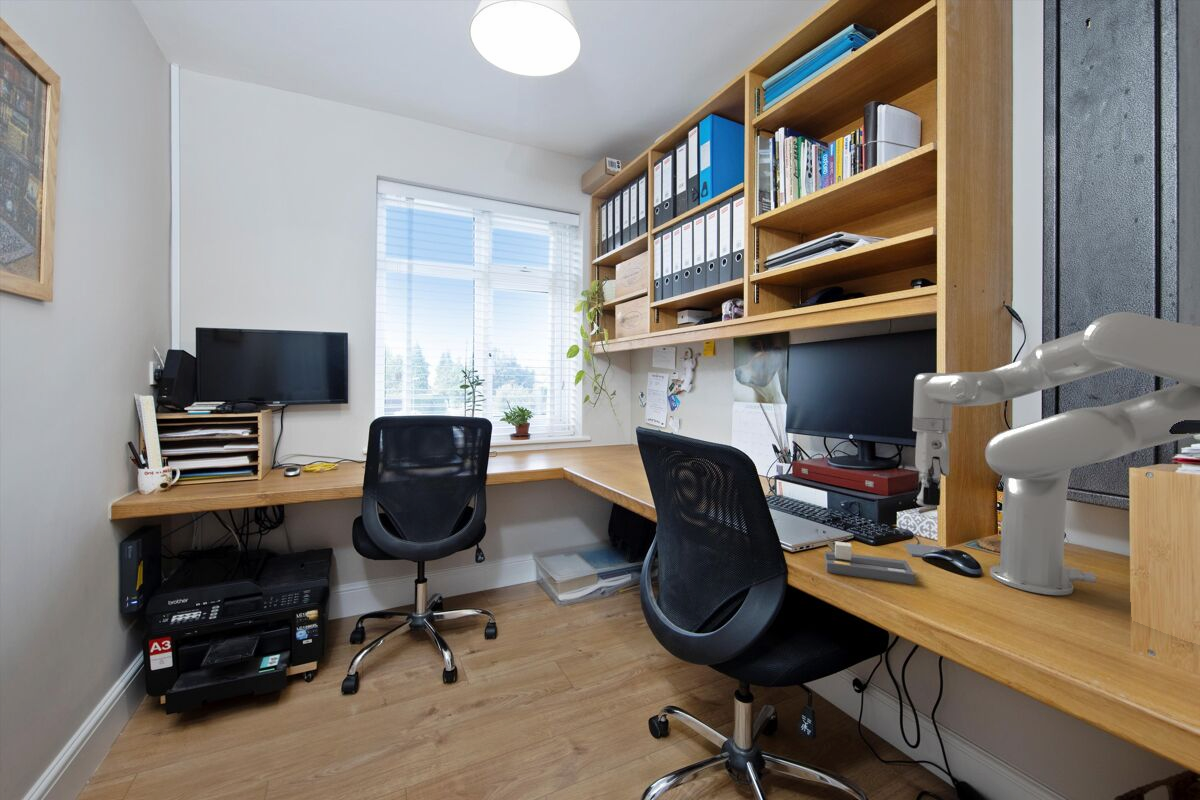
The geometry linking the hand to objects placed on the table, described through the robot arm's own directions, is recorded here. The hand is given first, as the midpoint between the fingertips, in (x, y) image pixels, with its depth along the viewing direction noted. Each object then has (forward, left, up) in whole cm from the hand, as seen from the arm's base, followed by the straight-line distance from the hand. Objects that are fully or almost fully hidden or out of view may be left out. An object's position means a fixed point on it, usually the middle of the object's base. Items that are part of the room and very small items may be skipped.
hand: (928, 501), depth 114 cm
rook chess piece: (0, 0, -1) cm, 1 cm away
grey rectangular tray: (+15, +18, -12) cm, 26 cm away
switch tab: (+19, +18, -10) cm, 28 cm away
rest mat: (0, 0, -12) cm, 12 cm away
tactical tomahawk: (+20, +1, -13) cm, 24 cm away
